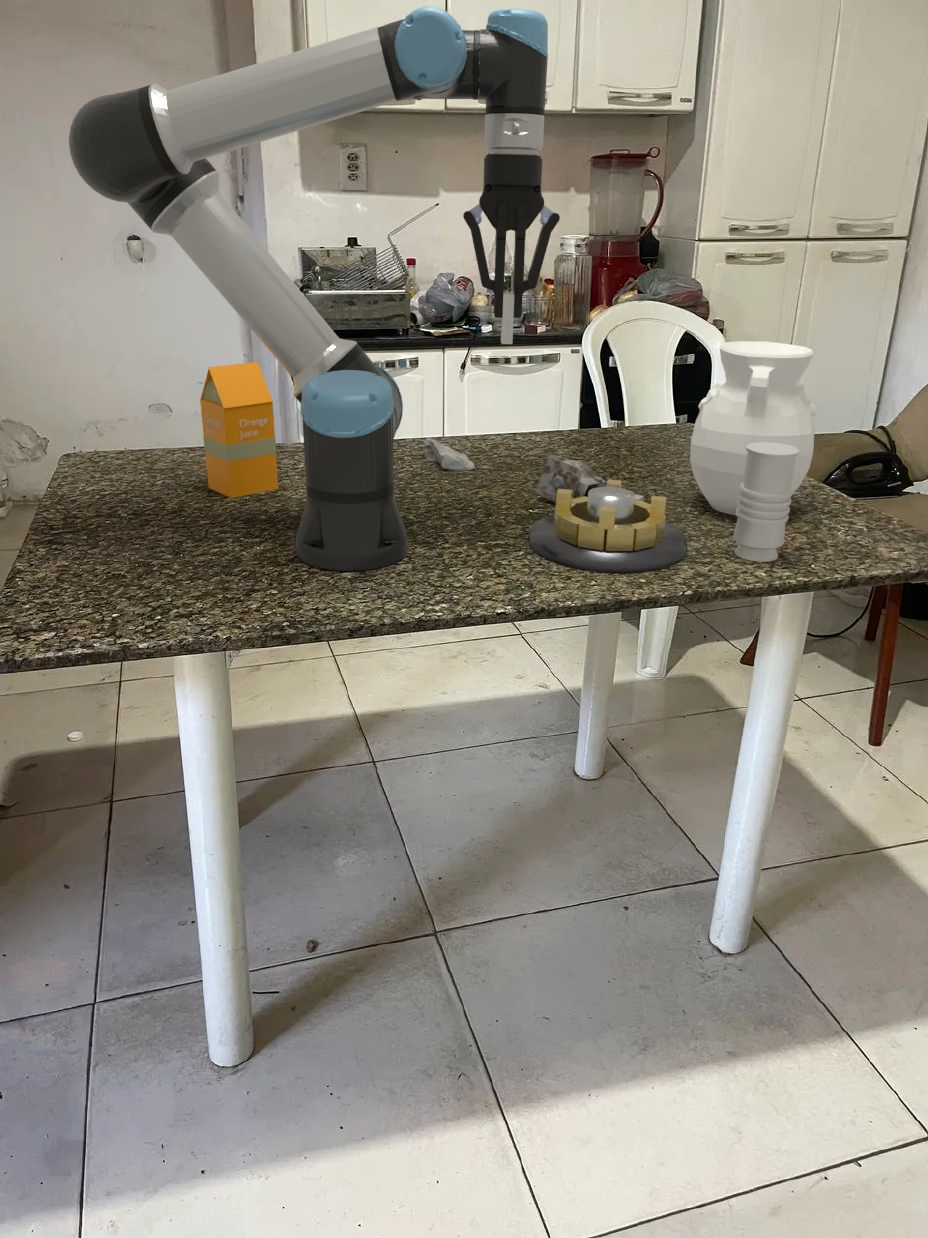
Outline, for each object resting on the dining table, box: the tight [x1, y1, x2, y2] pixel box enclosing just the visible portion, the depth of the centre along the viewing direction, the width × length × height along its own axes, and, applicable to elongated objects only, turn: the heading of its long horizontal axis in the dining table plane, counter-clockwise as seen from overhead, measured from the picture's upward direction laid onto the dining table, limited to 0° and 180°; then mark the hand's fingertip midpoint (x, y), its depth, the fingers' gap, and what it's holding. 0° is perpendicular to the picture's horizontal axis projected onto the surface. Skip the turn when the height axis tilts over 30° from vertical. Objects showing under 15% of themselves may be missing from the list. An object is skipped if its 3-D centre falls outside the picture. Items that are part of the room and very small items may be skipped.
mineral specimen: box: [422, 437, 476, 472], centre depth 172 cm, size 6×12×4 cm, turn 21°
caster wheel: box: [536, 454, 608, 504], centre depth 152 cm, size 7×11×10 cm
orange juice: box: [199, 361, 279, 499], centre depth 152 cm, size 8×9×20 cm
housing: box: [529, 487, 688, 574], centre depth 133 cm, size 22×22×8 cm
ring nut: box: [553, 479, 667, 551], centre depth 133 cm, size 15×15×6 cm
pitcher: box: [689, 340, 817, 516], centre depth 147 cm, size 19×18×25 cm
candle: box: [733, 442, 799, 563], centre depth 129 cm, size 7×7×15 cm
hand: (506, 342), depth 131 cm, fingers closed
